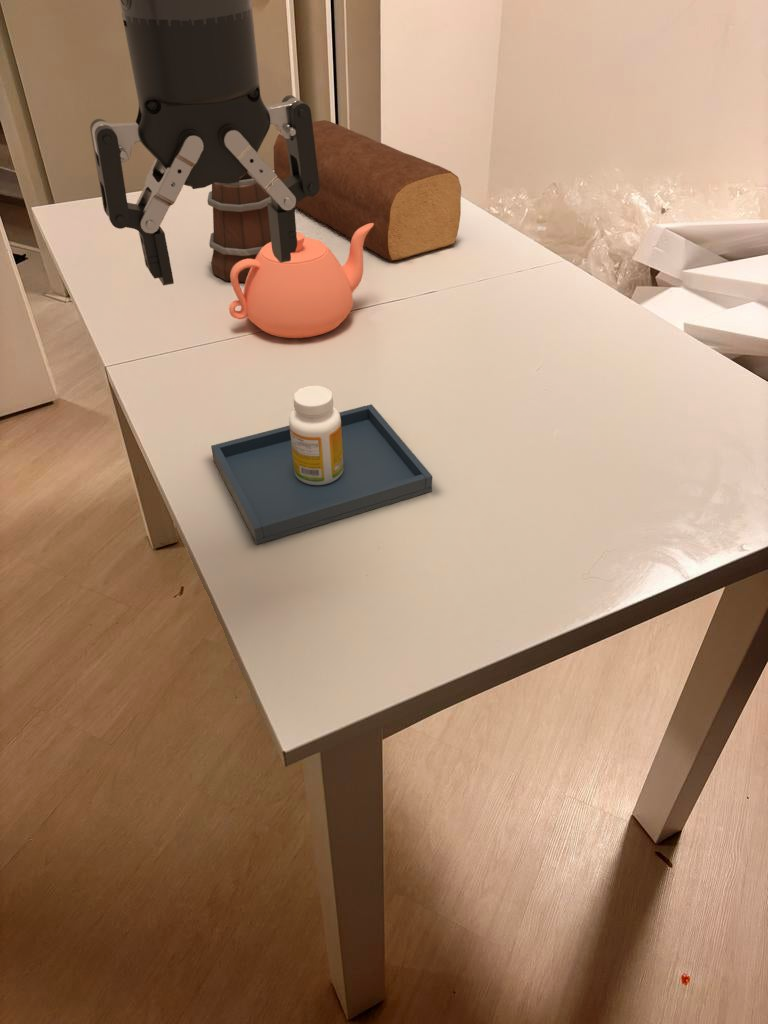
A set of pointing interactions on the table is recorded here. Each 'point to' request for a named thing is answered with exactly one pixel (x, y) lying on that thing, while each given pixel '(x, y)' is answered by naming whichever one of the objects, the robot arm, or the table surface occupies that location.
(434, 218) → the bread
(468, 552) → the table surface
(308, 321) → the teapot
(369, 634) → the table surface
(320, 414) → the supplement bottle
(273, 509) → the tray
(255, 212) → the mug
